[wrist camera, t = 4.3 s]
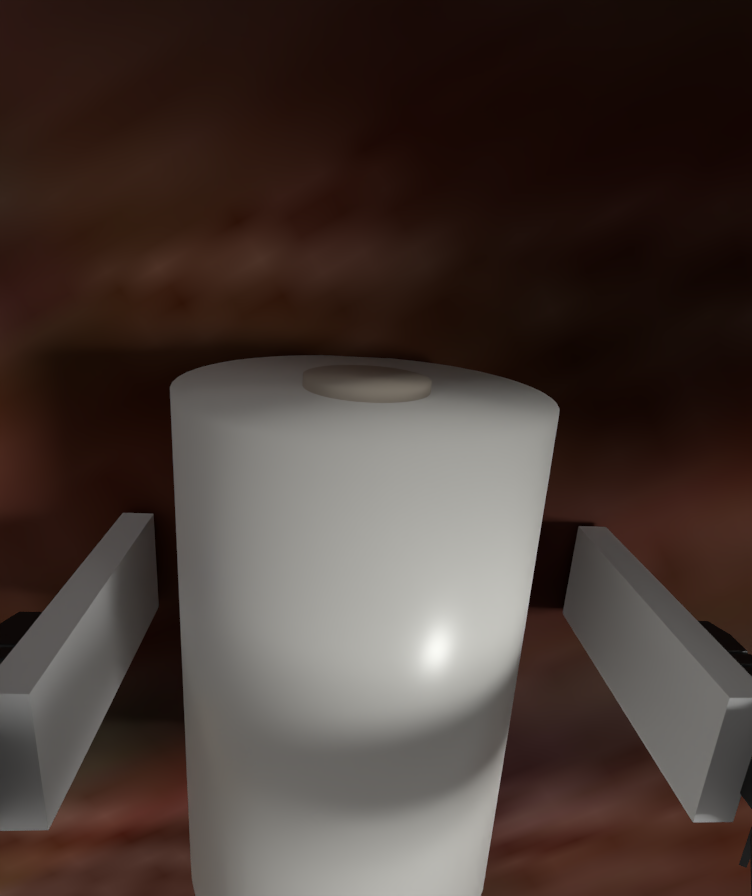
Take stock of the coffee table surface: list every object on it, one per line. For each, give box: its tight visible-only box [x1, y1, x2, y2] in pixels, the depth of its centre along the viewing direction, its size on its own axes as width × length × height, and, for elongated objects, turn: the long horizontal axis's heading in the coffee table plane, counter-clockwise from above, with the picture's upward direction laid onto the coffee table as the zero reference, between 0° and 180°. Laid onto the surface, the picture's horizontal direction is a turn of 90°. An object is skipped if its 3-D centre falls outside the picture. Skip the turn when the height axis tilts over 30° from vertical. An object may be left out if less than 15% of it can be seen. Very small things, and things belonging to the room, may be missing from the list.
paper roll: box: [170, 355, 560, 896], centre depth 13 cm, size 11×7×7 cm, turn 177°
